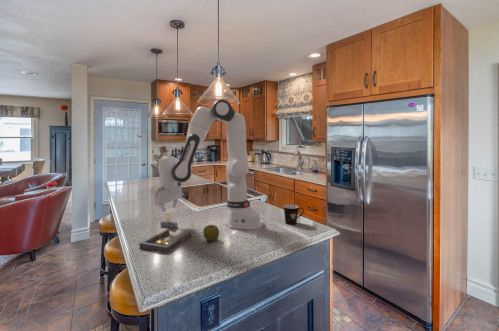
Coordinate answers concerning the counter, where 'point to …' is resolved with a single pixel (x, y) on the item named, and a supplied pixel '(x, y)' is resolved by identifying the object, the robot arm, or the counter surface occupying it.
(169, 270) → the counter surface
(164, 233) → the walnut slot rails
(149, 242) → the grey angled bracket
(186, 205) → the counter surface
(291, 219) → the coffee mug
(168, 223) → the grey post with peg
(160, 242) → the brass chip
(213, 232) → the apple
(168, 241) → the brass chip
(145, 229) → the counter surface
